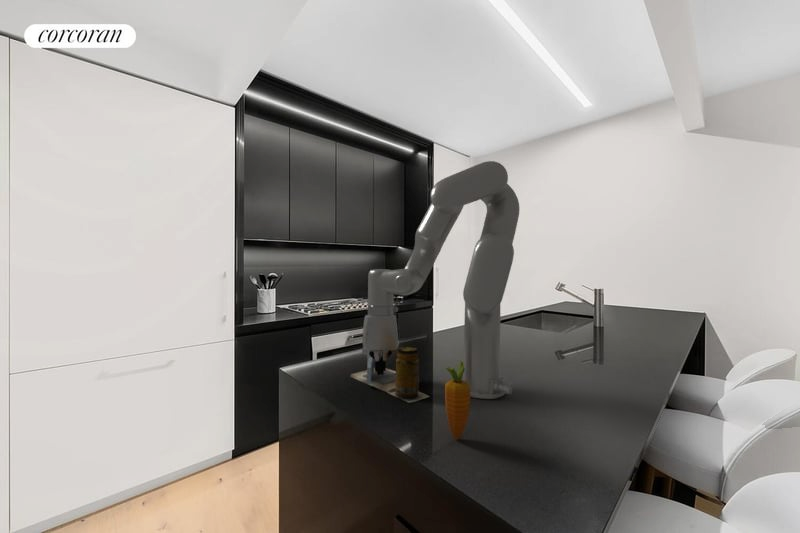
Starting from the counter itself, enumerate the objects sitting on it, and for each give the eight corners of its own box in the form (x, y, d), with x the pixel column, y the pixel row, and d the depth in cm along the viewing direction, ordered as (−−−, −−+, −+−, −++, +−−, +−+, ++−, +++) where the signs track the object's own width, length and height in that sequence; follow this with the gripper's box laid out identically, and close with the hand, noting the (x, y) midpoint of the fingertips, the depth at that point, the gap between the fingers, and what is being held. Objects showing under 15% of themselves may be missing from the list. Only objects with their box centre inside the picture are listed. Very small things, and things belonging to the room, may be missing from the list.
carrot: (452, 448, 62) (454, 367, 62) (439, 435, 66) (440, 360, 66) (475, 443, 64) (476, 364, 64) (460, 431, 68) (461, 358, 68)
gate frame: (419, 382, 97) (419, 361, 97) (388, 393, 88) (388, 370, 88) (380, 368, 109) (381, 350, 109) (350, 376, 101) (350, 357, 101)
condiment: (408, 387, 93) (409, 344, 93) (429, 397, 86) (430, 350, 86) (387, 393, 88) (388, 348, 88) (408, 404, 82) (409, 355, 82)
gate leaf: (368, 371, 102) (368, 357, 102) (371, 371, 102) (372, 357, 102) (367, 383, 92) (367, 367, 92) (370, 383, 92) (370, 367, 92)
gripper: (402, 309, 103) (402, 368, 103) (354, 309, 100) (353, 371, 100) (408, 312, 96) (407, 376, 96) (356, 313, 93) (355, 379, 93)
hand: (380, 373), depth 98 cm, fingers closed
